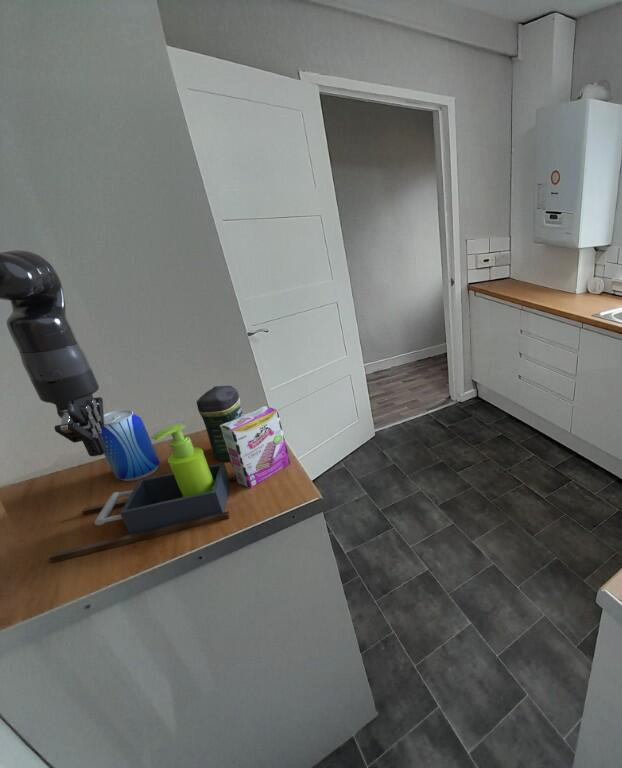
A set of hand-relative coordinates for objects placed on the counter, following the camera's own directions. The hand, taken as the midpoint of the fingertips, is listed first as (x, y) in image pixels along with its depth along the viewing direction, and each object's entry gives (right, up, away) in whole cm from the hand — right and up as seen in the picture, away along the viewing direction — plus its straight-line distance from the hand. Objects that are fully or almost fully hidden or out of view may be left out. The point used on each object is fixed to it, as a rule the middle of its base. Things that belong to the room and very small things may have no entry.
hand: (98, 453), depth 79 cm
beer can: (-12, -9, +22) cm, 26 cm away
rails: (+4, -15, +9) cm, 17 cm away
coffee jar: (+6, -5, +31) cm, 32 cm away
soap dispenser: (+11, -14, +12) cm, 21 cm away
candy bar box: (+19, -9, +22) cm, 31 cm away
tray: (+6, -14, +10) cm, 18 cm away
